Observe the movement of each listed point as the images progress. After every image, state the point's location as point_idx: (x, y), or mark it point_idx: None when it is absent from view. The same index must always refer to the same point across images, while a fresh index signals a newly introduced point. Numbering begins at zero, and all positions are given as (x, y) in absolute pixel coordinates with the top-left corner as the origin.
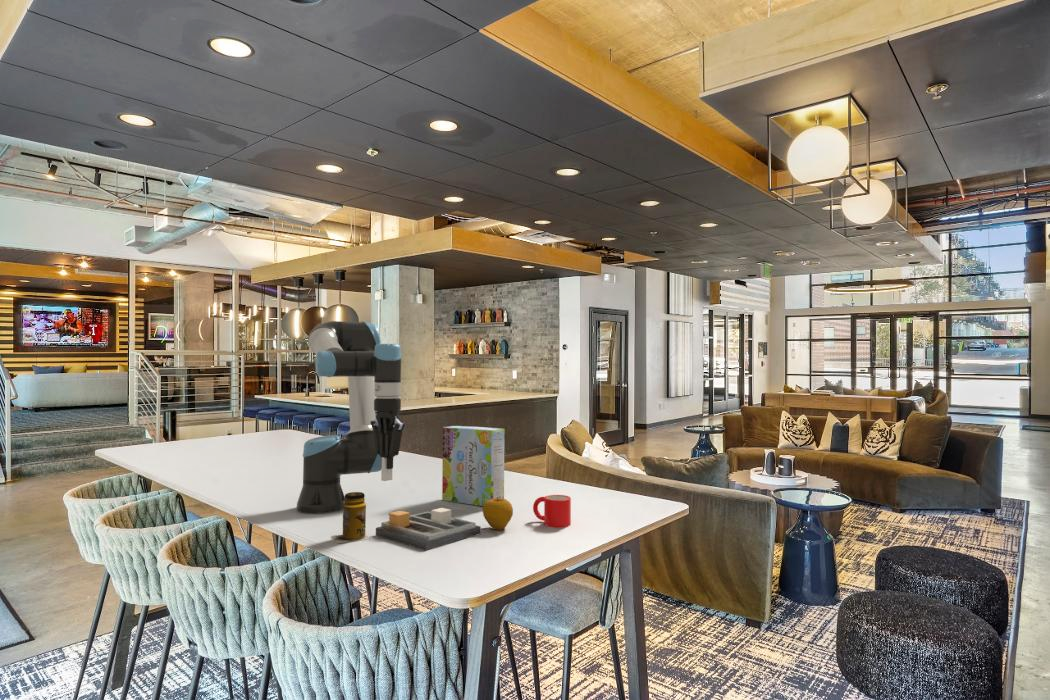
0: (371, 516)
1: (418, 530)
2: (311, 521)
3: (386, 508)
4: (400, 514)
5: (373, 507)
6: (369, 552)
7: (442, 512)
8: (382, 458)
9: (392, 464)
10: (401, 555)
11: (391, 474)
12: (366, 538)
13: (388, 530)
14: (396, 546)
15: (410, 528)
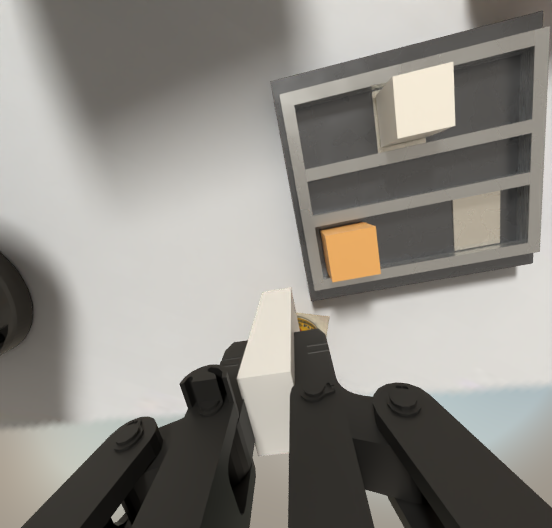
0: (121, 222)
1: (418, 221)
2: (100, 359)
3: (42, 138)
4: (373, 261)
5: (12, 168)
6: (423, 358)
7: (454, 116)
8: (272, 447)
9: (329, 351)
10: (497, 317)
11: (291, 305)
12: (321, 321)
13: (357, 286)
14: (429, 296)
15: (382, 229)
